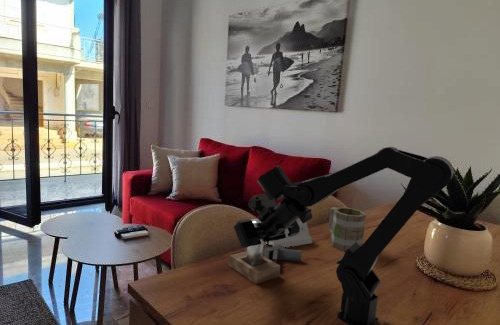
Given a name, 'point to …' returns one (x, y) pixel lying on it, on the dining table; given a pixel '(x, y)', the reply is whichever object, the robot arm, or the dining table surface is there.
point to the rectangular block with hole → (254, 268)
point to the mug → (346, 227)
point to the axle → (255, 250)
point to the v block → (282, 254)
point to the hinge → (294, 237)
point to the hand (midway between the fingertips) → (252, 242)
